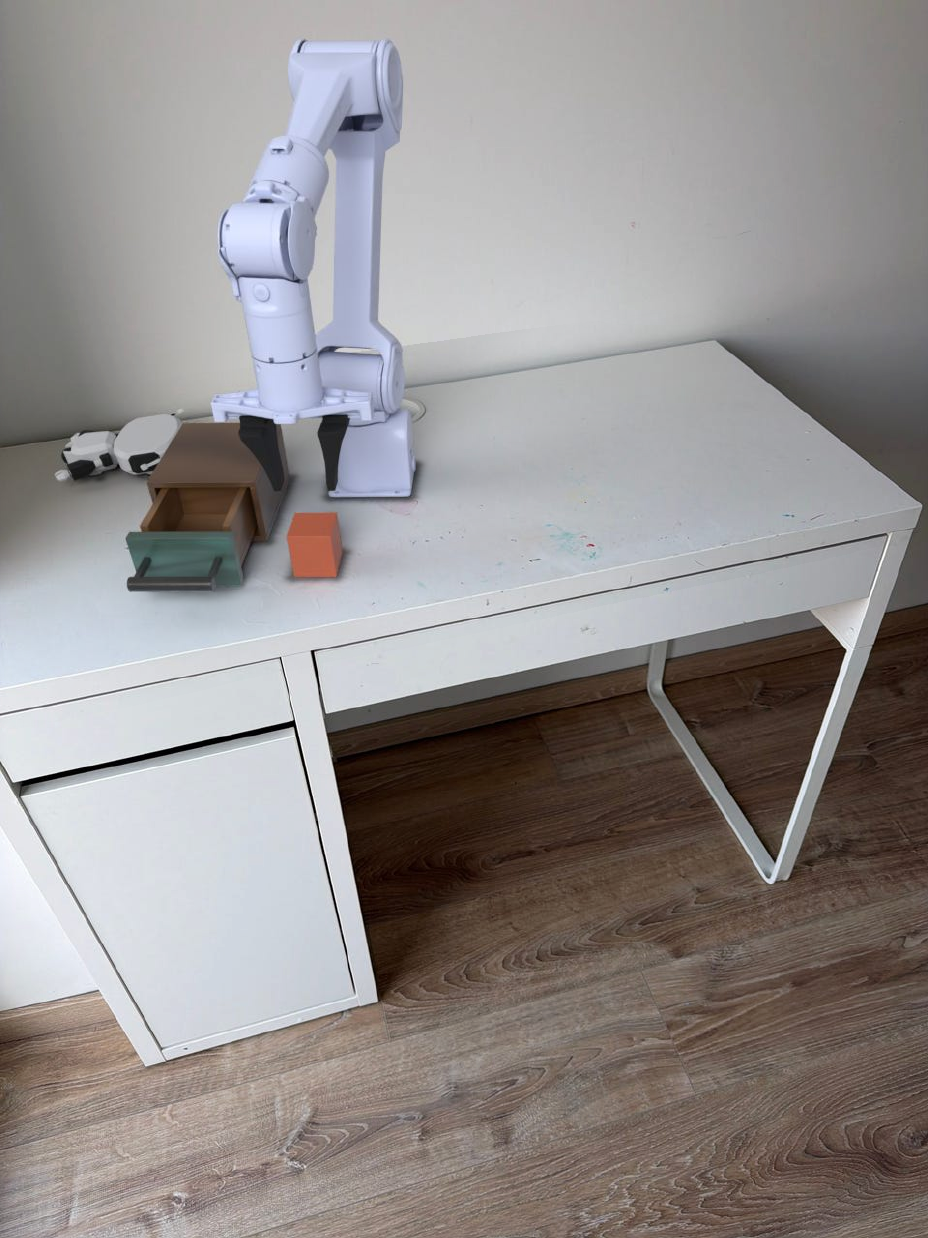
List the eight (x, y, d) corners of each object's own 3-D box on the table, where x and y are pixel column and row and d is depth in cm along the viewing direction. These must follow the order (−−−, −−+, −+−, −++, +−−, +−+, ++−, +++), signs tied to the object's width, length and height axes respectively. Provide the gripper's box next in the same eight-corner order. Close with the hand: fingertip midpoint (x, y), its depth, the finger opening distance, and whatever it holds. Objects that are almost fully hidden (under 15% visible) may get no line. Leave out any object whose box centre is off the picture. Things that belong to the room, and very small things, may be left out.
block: (342, 552, 93) (337, 512, 90) (336, 577, 90) (330, 536, 87) (301, 552, 93) (294, 512, 90) (294, 577, 90) (286, 536, 87)
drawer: (229, 615, 84) (217, 566, 80) (124, 615, 84) (108, 567, 81) (266, 518, 97) (257, 472, 94) (175, 518, 98) (163, 473, 94)
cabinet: (267, 541, 95) (255, 481, 91) (163, 541, 96) (146, 482, 91) (290, 478, 106) (280, 421, 101) (196, 479, 106) (182, 422, 101)
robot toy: (60, 503, 104) (187, 482, 105) (44, 469, 101) (175, 448, 102) (80, 453, 114) (196, 435, 114) (66, 421, 111) (185, 402, 111)
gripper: (190, 370, 74) (222, 508, 83) (361, 368, 74) (375, 507, 82) (211, 338, 80) (239, 470, 88) (370, 335, 79) (383, 469, 88)
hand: (306, 485), depth 86 cm, fingers open, 5 cm apart
